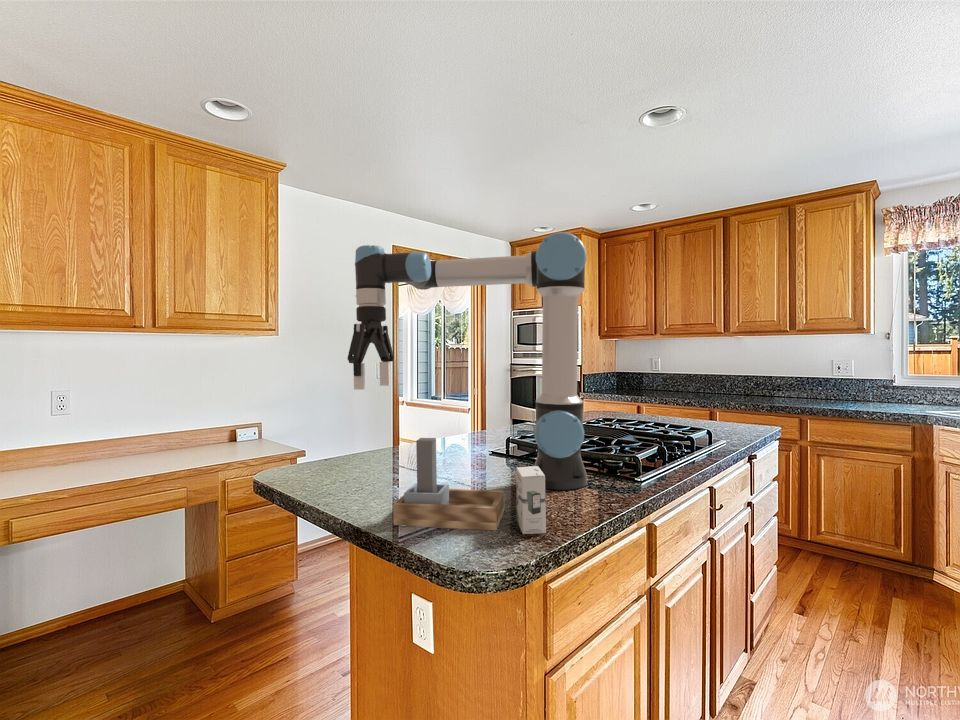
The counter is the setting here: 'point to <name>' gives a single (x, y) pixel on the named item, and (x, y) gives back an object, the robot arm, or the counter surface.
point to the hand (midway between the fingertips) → (372, 387)
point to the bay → (454, 511)
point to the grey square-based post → (427, 477)
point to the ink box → (531, 500)
